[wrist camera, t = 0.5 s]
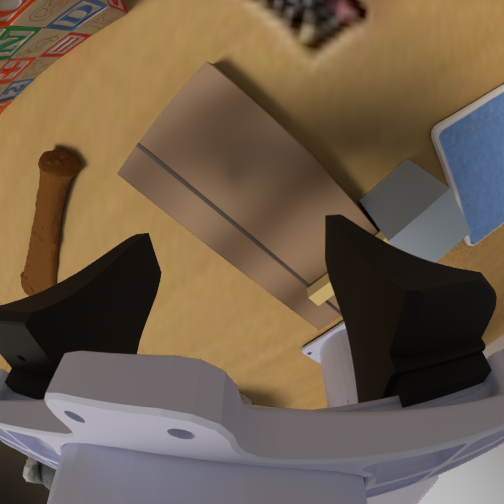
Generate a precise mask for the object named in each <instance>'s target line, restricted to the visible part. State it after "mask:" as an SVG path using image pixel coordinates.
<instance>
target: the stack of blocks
mask: <svg viewBox="0 0 504 504" xmlns="http://www.w3.org/2000/svg"><path fill="white" fill-rule="evenodd" d="M126 14H127V11H126V8H125V6H124V3H123V1H122V0H0V113H1V112H2V111H3V110H4V109H5V108H6V107H7V106H8V105H9V104H10V103H11V102H12V101H13V99H14V98H15V97H16V96H17V95H18V94H19V93H20V92H21V91H22V90H23V89H24V88H25V87H26V86H27V85H28V84H29V83H31V82H32V81H33V80H34V79H35V77H37V76H38V75H39V74H40V73H42V72H43V71H44V70H45V69H46V68H47V67H49V66H50V65H51V64H52V63H53V62H55V61H56V60H57V59H58V58H59V57H62V56H63V55H65V54H66V53H67V52H69V51H70V50H71V49H73V48H74V47H75V46H77V45H78V44H80V43H81V42H83V41H84V40H85V39H87V38H88V37H90V36H91V35H92V34H95V33H96V32H98V31H99V30H101V29H103V28H104V27H106V26H107V25H109V24H111V23H112V22H114V21H116V20H117V19H119V18H121V17H123V16H124V15H126Z"/></svg>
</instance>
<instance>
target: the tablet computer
mask: <svg viewBox="0 0 504 504" xmlns="http://www.w3.org/2000/svg"><path fill="white" fill-rule="evenodd" d="M431 139H432V142H433V145H434V147H435V150H436V153H437V156H438V158H439V161H440V164H441V166H442V169H443V172H444V175H445V178H446V181H447V184H448V187H449V188H450V189H451V191H452V193H453V195H454V197H455V199H456V201H457V203H458V205H459V207H460V209H461V211H462V213H463V216H464V218H465V220H466V222H467V224H468V227H469V229H470V231H471V233H470V234H469V235H467V236H466V237H465V238H464V241H465V243H466V244H467V245H469V246H474V245H476V244H477V243H479V242H480V241H481V240H483V239H484V238H485V237H487V236H488V235H489V234H491V233H492V232H493V231H494V230H496V229H497V228H498V227H500V226H501V225H502V224H503V223H504V84H503V85H501V86H499V87H497V88H496V89H494V90H492V91H491V92H489V93H487V94H486V95H484V96H483V97H481V98H479V99H478V100H476V101H474V102H473V103H471V104H469V105H468V106H466V107H465V108H463V109H461V110H460V111H458V112H456V113H455V114H453V115H451V116H450V117H448V118H446V119H445V120H443V121H441V122H439V123H438V124H436V125H435V126H434V127H433V129H432V131H431Z"/></svg>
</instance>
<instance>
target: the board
mask: <svg viewBox="0 0 504 504" xmlns="http://www.w3.org/2000/svg"><path fill="white" fill-rule="evenodd" d="M117 174H118V175H119V176H121V177H122V178H123V179H124V180H126V181H127V182H128V183H129V184H131V185H132V186H133V187H134V188H135V189H137V190H138V191H139V192H140V193H142V194H143V195H144V196H145V197H147V198H148V199H149V200H150V201H152V202H153V203H154V204H155V205H157V206H158V207H159V208H160V209H162V210H163V211H164V212H165V213H167V214H168V215H169V216H171V217H172V218H173V219H174V220H176V221H177V222H178V223H179V224H181V225H182V226H183V227H184V228H186V229H187V230H188V231H190V232H191V233H192V234H193V235H195V236H196V237H197V238H199V239H200V240H201V241H202V242H204V243H205V244H206V245H208V246H209V247H210V248H211V249H213V250H214V251H215V252H217V253H218V254H219V255H220V256H222V257H223V258H224V259H226V260H227V261H228V262H229V263H231V264H232V265H233V266H235V267H236V268H237V269H239V270H240V271H241V272H243V273H244V274H245V275H246V276H248V277H249V278H250V279H252V280H253V281H254V282H256V283H257V284H258V285H260V286H261V287H262V288H264V289H265V290H266V291H268V292H269V293H270V294H272V295H273V296H274V297H275V298H277V299H278V300H279V301H281V302H282V303H283V304H285V305H286V306H287V307H289V308H290V309H291V310H293V311H294V312H296V313H297V314H298V315H300V316H301V317H302V318H304V319H305V320H306V321H308V322H309V323H310V324H312V325H313V326H314V327H316V328H317V329H318V330H321V329H322V328H324V327H325V326H327V325H328V324H330V323H331V322H333V321H334V320H336V319H337V318H339V317H340V316H342V314H341V311H340V308H339V305H338V303H337V300H336V297H335V295H333V296H332V297H330V298H329V299H328V300H326V301H325V302H323V303H322V304H321V305H319V306H318V305H317V304H315V303H314V302H313V301H312V300H310V299H309V298H308V294H307V288H308V287H310V286H311V285H312V284H314V283H315V282H316V281H318V280H319V279H320V278H322V277H323V276H324V275H326V274H327V273H328V272H327V267H326V262H325V215H337V214H341V215H343V216H345V217H346V218H348V219H349V220H351V221H352V222H354V223H355V224H357V225H358V226H360V227H361V228H363V229H365V230H366V231H368V232H369V233H371V234H373V235H374V236H375V235H376V234H377V233H379V232H380V231H379V230H378V229H377V228H376V226H375V225H374V224H373V223H372V221H371V220H370V219H369V218H368V217H367V215H366V214H365V213H364V212H363V211H362V209H361V208H360V207H359V206H358V205H357V204H356V202H355V201H354V200H353V199H352V198H351V197H350V195H349V194H348V193H347V192H346V191H345V190H344V189H343V187H342V186H341V185H340V184H339V183H338V182H337V181H336V180H335V179H334V178H333V176H332V175H331V174H330V173H329V172H328V171H327V170H326V169H325V168H324V167H323V166H322V165H321V164H320V162H319V161H318V160H317V159H316V158H315V157H314V156H313V155H312V154H311V153H310V152H309V151H308V150H307V149H306V148H305V147H304V146H303V145H302V144H301V143H300V142H299V141H298V140H297V139H296V138H295V137H294V136H293V135H292V134H291V133H290V132H289V131H288V130H287V129H286V128H285V127H284V126H283V125H282V124H281V123H280V122H279V121H278V120H277V119H275V118H274V117H273V116H272V115H271V114H270V113H269V112H268V111H267V110H266V109H265V108H264V107H263V106H261V105H260V104H259V103H258V102H257V101H256V100H255V99H254V98H253V97H251V96H250V95H249V94H248V93H247V92H246V91H245V90H243V89H242V88H241V87H240V86H239V85H238V84H237V83H235V82H234V81H233V80H232V79H231V78H229V77H228V76H227V75H226V74H225V73H223V72H222V71H221V70H220V69H219V68H217V67H216V66H215V65H214V64H212V63H209V62H206V63H205V64H204V65H203V66H202V67H201V68H200V69H199V70H198V71H197V72H196V73H195V74H194V76H193V77H192V78H191V79H190V80H189V81H188V82H187V83H186V84H185V86H184V87H183V88H182V89H181V90H180V91H179V92H178V94H177V95H176V96H175V97H174V98H173V100H172V101H171V102H170V103H169V104H168V106H167V107H166V108H165V109H164V110H163V112H162V113H161V114H160V115H159V117H158V118H157V119H156V121H155V122H154V123H153V124H152V126H151V127H150V128H149V130H148V131H147V132H146V134H145V135H144V136H143V138H142V139H141V140H140V142H139V143H138V144H137V145H136V147H135V149H134V150H133V151H132V153H131V154H130V156H129V157H128V158H127V160H126V161H125V163H124V164H123V166H122V167H121V169H120V170H119V172H118V173H117Z"/></svg>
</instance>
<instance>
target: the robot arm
mask: <svg viewBox="0 0 504 504" xmlns="http://www.w3.org/2000/svg"><path fill="white" fill-rule="evenodd" d="M325 262H326V267H327V272H328V276H329V280H330V283H331V286H332V289H333V291H334V294H335V297H336V300H337V303H338V305H339V308H340V311H341V314H342V317H343V320H344V321H343V322H342V323H340V324H339V325H337V326H335V327H334V328H332V329H331V330H329V331H328V332H326V333H325V334H323V335H322V336H320V337H318V338H317V339H315V340H314V341H312V342H311V343H309V344H307V345H306V346H304V347H303V348H302V353H303V354H305V355H306V356H308V357H310V358H311V359H313V360H314V361H316V362H318V363H319V364H321V367H322V373H323V380H324V386H325V392H326V399H327V406H328V408H323V409H315V410H305V409H290V408H278V407H268V406H259V405H250V404H244V403H243V402H242V400H241V397H240V394H239V391H238V387H237V385H236V384H235V383H234V382H233V380H232V379H231V378H230V377H229V376H228V374H227V373H226V372H225V371H223V370H222V369H220V368H218V367H216V366H214V365H211V364H209V363H207V362H205V361H203V360H201V359H195V358H189V357H182V356H176V355H140V354H137V351H138V346H139V342H140V338H141V335H142V332H143V329H144V326H145V324H146V321H147V318H148V316H149V313H150V310H151V308H152V305H153V302H154V300H155V297H156V294H157V291H158V287H159V282H160V278H161V270H160V267H159V264H158V261H157V258H156V255H155V252H154V249H153V246H152V243H151V239H150V236H149V233H144V234H136V235H134V236H132V237H130V238H128V239H126V240H125V241H123V242H122V243H120V244H119V245H117V246H116V247H115V248H113V249H112V250H110V251H109V252H107V253H106V254H105V255H103V256H102V257H100V258H99V259H97V260H96V261H94V262H93V263H91V264H90V265H88V266H87V267H86V268H84V269H83V270H81V271H79V272H78V273H76V274H74V275H73V276H71V277H69V278H67V279H66V280H64V281H62V282H60V283H58V284H56V285H54V286H52V287H50V288H48V289H46V290H44V291H41V292H39V293H37V294H34V295H32V296H29V297H26V298H24V299H21V300H18V301H14V302H11V303H8V304H5V305H1V306H0V354H1V355H2V356H3V358H4V359H5V360H6V361H7V363H8V364H9V365H10V366H11V367H12V369H11V371H10V373H8V372H6V371H5V370H3V369H0V440H1V441H3V442H4V443H5V444H7V445H9V446H11V447H12V448H14V449H16V450H18V451H20V452H22V453H24V454H26V455H28V456H29V457H31V458H33V459H35V460H37V461H39V462H41V463H43V464H45V465H48V466H50V467H52V468H54V469H56V472H55V476H54V479H53V483H52V487H51V490H50V494H49V498H48V502H47V504H417V503H418V502H419V501H420V500H421V499H422V498H423V497H424V495H425V494H426V493H427V492H428V491H429V490H430V488H431V487H432V486H433V485H434V484H435V482H436V481H437V479H438V475H439V474H442V473H444V472H446V471H448V470H451V469H453V468H455V467H457V466H460V465H462V464H464V463H466V462H468V461H470V460H472V459H474V458H476V457H478V456H480V455H482V454H484V453H486V452H488V451H490V450H492V449H493V448H495V447H497V446H499V445H500V444H503V443H504V349H503V350H501V351H498V352H496V353H494V354H492V355H491V356H489V357H488V358H487V359H486V358H485V356H484V354H483V352H482V351H484V349H485V343H484V342H483V340H482V338H481V337H482V335H483V333H484V331H485V329H486V327H487V326H488V324H489V321H490V319H491V317H492V315H493V312H494V310H495V306H496V298H497V297H496V293H495V290H494V289H493V288H492V286H491V285H490V284H489V282H488V281H487V280H486V279H485V277H484V276H483V275H482V273H480V272H475V271H469V270H463V269H458V268H453V267H449V266H445V265H441V264H438V263H434V262H431V261H428V260H425V259H423V258H420V257H417V256H414V255H412V254H409V253H407V252H405V251H403V250H400V249H398V248H396V247H394V246H392V245H390V244H388V243H386V242H385V241H383V240H381V239H379V238H378V237H376V236H374V235H373V234H371V233H369V232H368V231H366V230H365V229H363V228H361V227H360V226H358V225H357V224H355V223H354V222H352V221H351V220H349V219H348V218H346V217H345V216H343V215H341V214H337V215H325Z"/></svg>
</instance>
